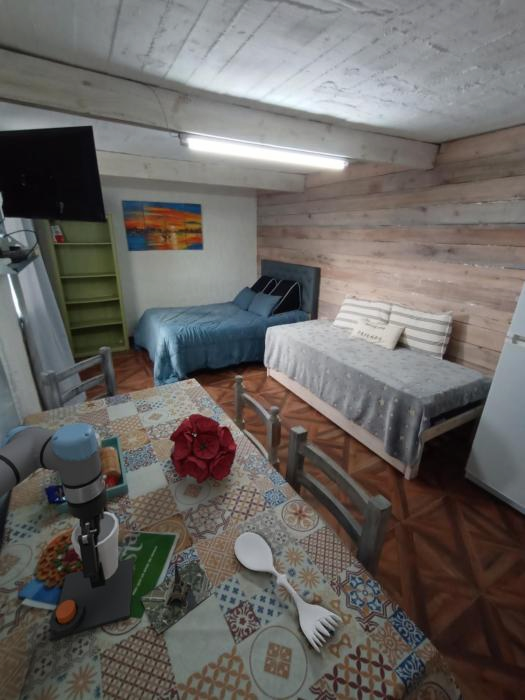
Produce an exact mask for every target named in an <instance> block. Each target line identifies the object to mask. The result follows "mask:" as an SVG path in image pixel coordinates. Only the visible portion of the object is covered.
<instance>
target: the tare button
mask: <svg viewBox="0 0 525 700" xmlns="http://www.w3.org/2000/svg"><path fill="white" fill-rule="evenodd" d="M75 614H76V606H75V603H74V601H73V600H67V601H64V602H63V603H62V604H60V605H59V607H58V608H57V610H56V616H57V619H58V622H59V623H60V624H65V623H68V622H69V621H71V620H72V619H73V617H74V616H75Z"/></svg>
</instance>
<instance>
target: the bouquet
mask: <svg viewBox="0 0 525 700" xmlns="http://www.w3.org/2000/svg"><path fill="white" fill-rule="evenodd" d="M220 424H221V423H220V422H218V421H217V420H215V419H214V418H212V417H208V416H206V415H203V414H199V413H193V414H190V415H189V417H188V418H187V417H186V418H184V419H183V420H182V421H181V422H180V425H179V426H177V428H176V429H175V430H174V431H173V432H172V433H171V434H170V435H169V438H168V440H169V441H171V442H172V443H173V442H174V444H173V445H172V447H170V456H169V458H170V459H171V462H172V465H173V468H174V469H175V472H176V474H177V475H179V477H180V478H179V479H184V478H186V477H187V476H189V477H191V478H193V479H196V483H197V485H201V484H202V483H203V482H206V481H207V480H209V479H211V478H212V479H213V480H215V481H217V482H218V481H219V482H222V481H223V480H224V479H226V478H227V477H229V476H230V475H231V473H232V466H233V465H234V463H235V462H234V461H235V458H236V452H237V448H238V445H237V444H236V441H235V439H234V437H233V434H232V432H231V429H230V428H229V427H228V426H226V425H224V426H223V425H221V426H220Z"/></svg>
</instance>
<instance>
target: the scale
mask: <svg viewBox="0 0 525 700" xmlns="http://www.w3.org/2000/svg"><path fill="white" fill-rule="evenodd" d="M134 573H135V557H131V558H127V559H122V560H118V567H117V569H116V571H115V573H114V574H113V575H112V576H111V577H110V578H108V579H106V584H105V585H104V586H100V587H97V588H93V589H92V586H91V583H90V579H89V577H88V578H84V576H83V573H82V570H77V571H75V572H70V573H66V574H65V577H64V581H63V586H62V589H61V593H60V597H59V600H58V604H57V606H56V607H55V609H54V610H53V611H52V612H51V614H50V617H49V622H48V624H49V628H50V634H49V638H48V640H49V642H54V641H55V642H56V641H58V640H62V639H65V638H67V637H72V636H75V635H79V634H81V633H85V632H87V631H91V630H92V631H93V630H94V629H99V628H102V627H105V626H108V625H112V624H116V623H118V622H119V623H120V622H121V621H125V620H128V619H131V615H132V614H131V613H132V600H133V598H132V597H133V585H134ZM67 600H73V601H74V603H75V606H76V614H75V616H74V617H73V619H72V620H71V621H69V622H68V623H65V624H60V623H59V622H58V619H57V616H56V610H57V608H58V607H59V605H60V604H62V603H63V602H64V601H67Z"/></svg>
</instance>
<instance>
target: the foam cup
mask: <svg viewBox="0 0 525 700" xmlns="http://www.w3.org/2000/svg"><path fill="white" fill-rule="evenodd" d="M94 531H96V529H95V530H92V531H90V532H94ZM119 532H120V525H119V519H118V518H117V516H116V515H115V513H112V512H110V511H109V512H104V519H101V520H100V534H99V535H98V544H97V545H95V547H98V551H99V560H100V562H101V563H102V567H103V572H104V576H105V580H106V579H108V578H110V577H111V576H112V575H113V574H114V573H115V571H116V569H117V567H118V561H119ZM79 535H82V534H81V527H80V521H79V522H78V523H77V525H76V526H75V527H74V529H73V530H72V533H71V538H70V541H71V544H72V547H73V549H74V552H75V553H76V554H77V555H78V557H79V559H80V561H81V562H82V560H81V552H80V546H79V543H78V536H79Z"/></svg>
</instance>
